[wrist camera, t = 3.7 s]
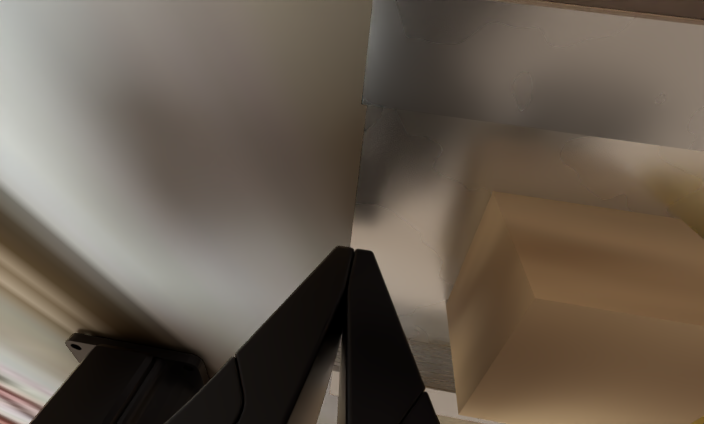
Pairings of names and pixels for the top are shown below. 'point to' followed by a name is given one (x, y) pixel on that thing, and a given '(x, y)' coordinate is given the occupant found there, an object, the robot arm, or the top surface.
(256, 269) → the top surface
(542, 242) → the oak chip
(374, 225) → the slot board
